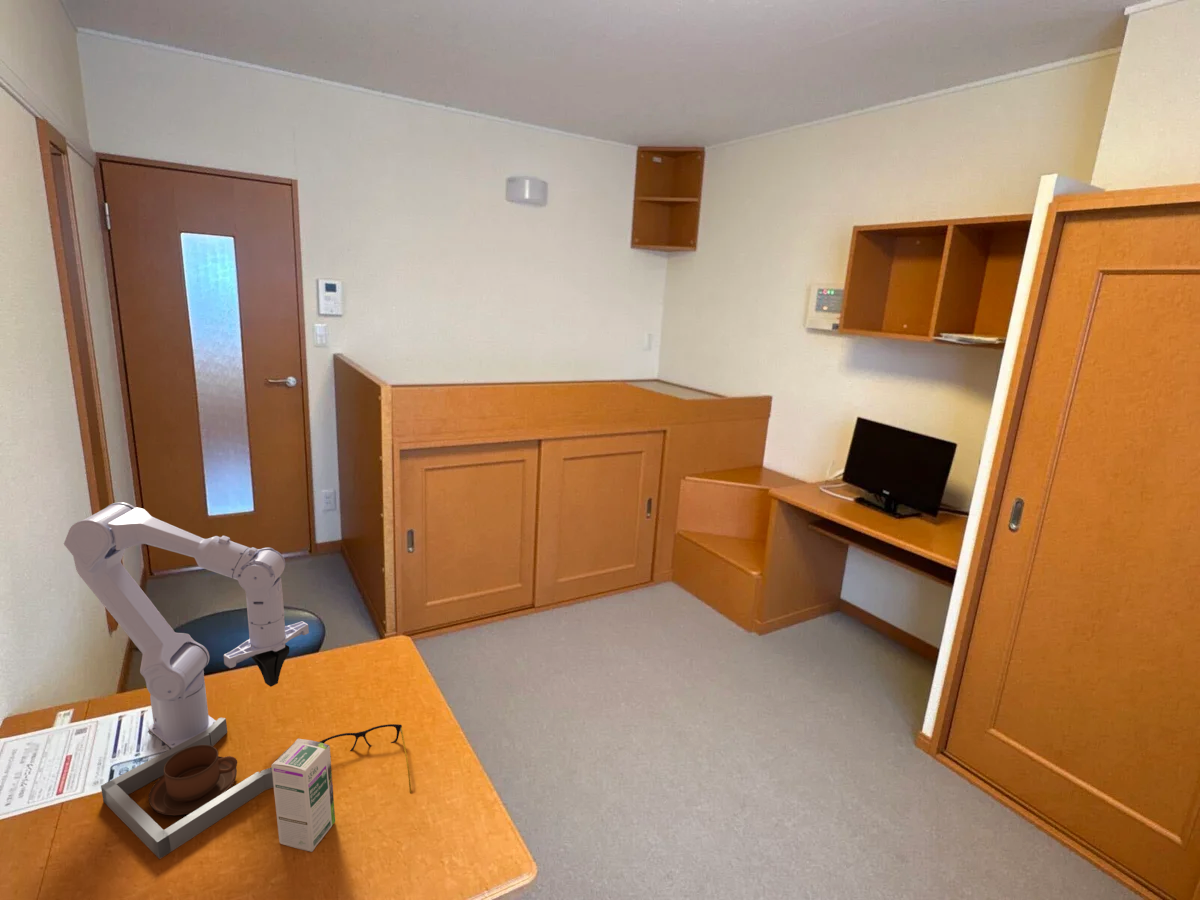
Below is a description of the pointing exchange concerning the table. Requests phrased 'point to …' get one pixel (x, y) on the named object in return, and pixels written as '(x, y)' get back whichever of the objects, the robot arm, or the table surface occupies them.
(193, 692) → the robot arm
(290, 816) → the syrup box
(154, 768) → the bent grey bar frame
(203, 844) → the table surface
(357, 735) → the eyeglasses
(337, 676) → the table surface
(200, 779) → the cup and saucer
